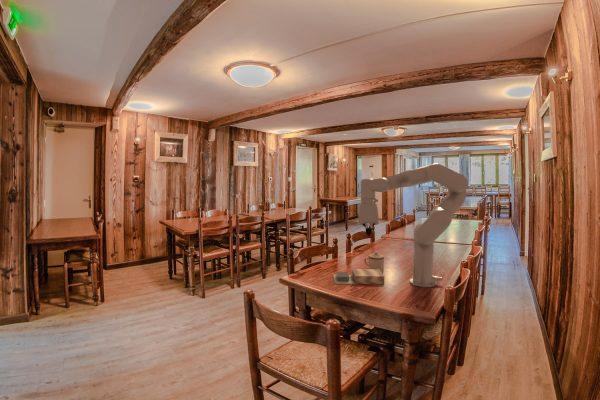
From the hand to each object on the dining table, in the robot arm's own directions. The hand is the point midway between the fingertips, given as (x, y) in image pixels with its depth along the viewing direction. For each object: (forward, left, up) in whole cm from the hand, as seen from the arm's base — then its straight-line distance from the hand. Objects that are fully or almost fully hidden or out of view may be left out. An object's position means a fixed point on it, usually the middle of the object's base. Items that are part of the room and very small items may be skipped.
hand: (368, 235), depth 170 cm
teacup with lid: (-6, -15, -24) cm, 29 cm away
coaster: (+14, +2, -21) cm, 25 cm away
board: (+1, +2, -24) cm, 24 cm away
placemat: (+14, +2, -24) cm, 28 cm away
